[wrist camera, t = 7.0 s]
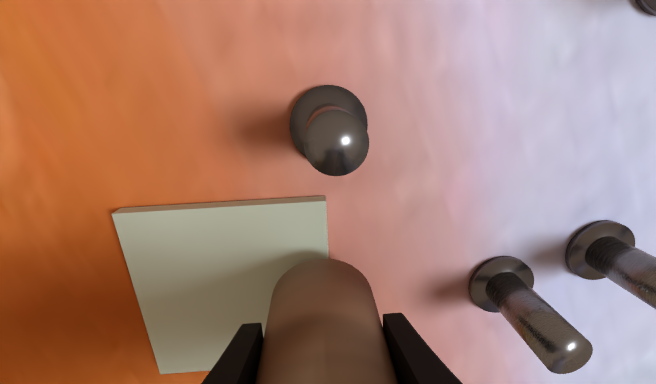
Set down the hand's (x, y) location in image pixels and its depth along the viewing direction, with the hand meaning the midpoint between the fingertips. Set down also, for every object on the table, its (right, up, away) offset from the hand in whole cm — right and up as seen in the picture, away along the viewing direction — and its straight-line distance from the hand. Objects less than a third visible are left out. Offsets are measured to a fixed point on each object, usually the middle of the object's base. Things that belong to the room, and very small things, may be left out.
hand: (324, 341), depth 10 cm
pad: (-4, +1, +3) cm, 5 cm away
